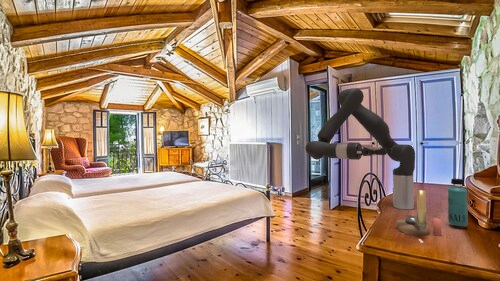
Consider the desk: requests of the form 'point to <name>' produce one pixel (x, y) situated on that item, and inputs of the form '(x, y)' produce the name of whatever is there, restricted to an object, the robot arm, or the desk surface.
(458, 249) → the desk surface
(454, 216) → the beverage bottle
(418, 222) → the crank
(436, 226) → the post
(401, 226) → the crank plinth
